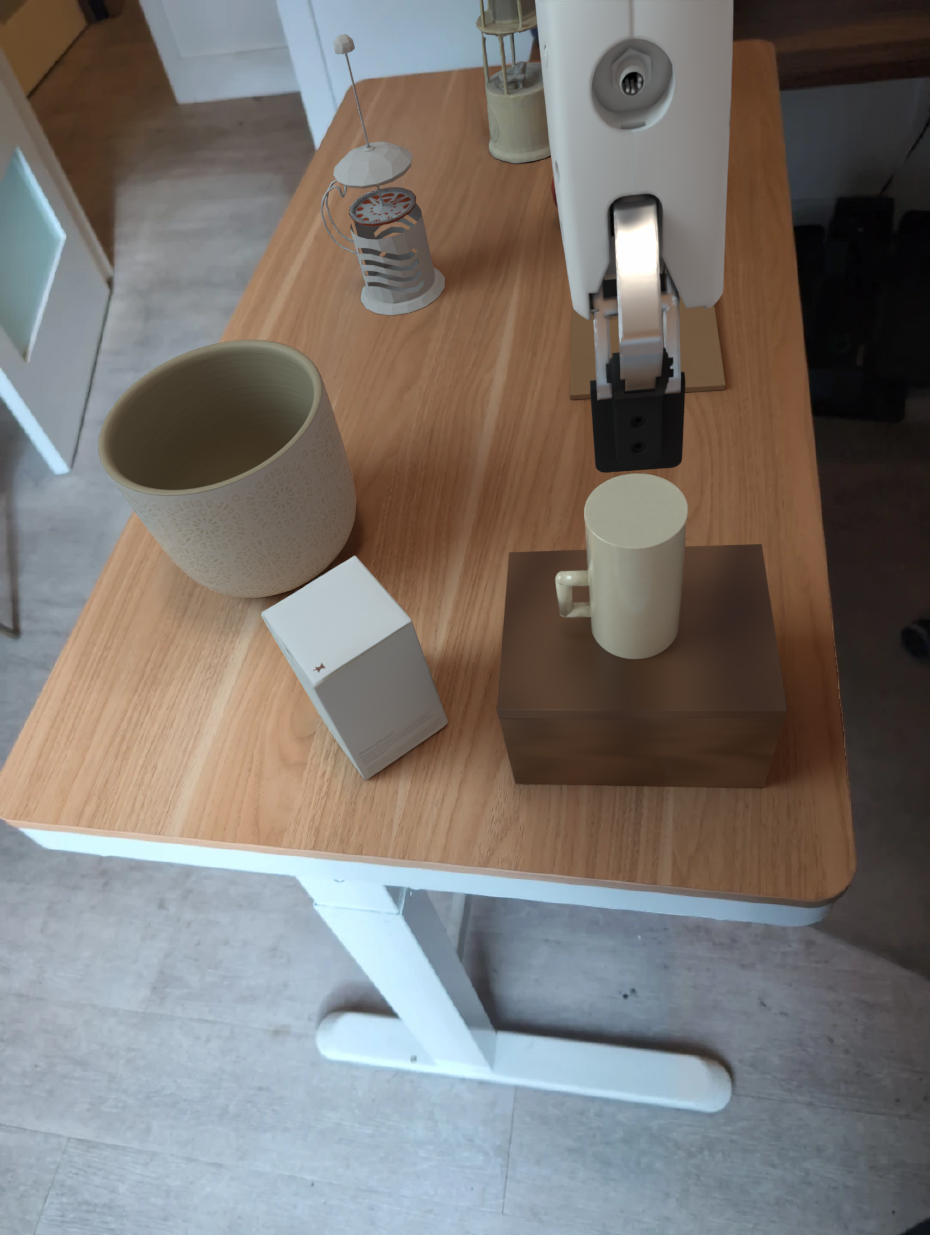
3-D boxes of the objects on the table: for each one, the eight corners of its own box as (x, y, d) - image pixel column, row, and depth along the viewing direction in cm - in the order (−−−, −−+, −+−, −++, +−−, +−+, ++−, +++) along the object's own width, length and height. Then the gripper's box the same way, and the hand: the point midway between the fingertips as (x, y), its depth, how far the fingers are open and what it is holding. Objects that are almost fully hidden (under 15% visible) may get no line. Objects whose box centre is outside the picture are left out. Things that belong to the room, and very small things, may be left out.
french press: (434, 314, 90) (379, 54, 70) (334, 316, 93) (254, 66, 73) (453, 262, 95) (407, 7, 75) (358, 266, 98) (289, 20, 78)
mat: (712, 299, 84) (713, 294, 83) (725, 390, 76) (725, 384, 75) (572, 311, 86) (572, 306, 86) (570, 400, 78) (569, 395, 78)
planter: (332, 639, 66) (266, 506, 54) (151, 611, 71) (52, 484, 59) (399, 485, 75) (355, 342, 63) (234, 470, 80) (164, 334, 68)
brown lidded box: (744, 634, 60) (761, 543, 52) (763, 788, 53) (787, 710, 45) (523, 637, 63) (508, 551, 55) (515, 783, 56) (496, 710, 48)
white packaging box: (452, 724, 60) (416, 621, 50) (364, 784, 58) (309, 690, 48) (399, 658, 64) (356, 551, 54) (316, 712, 62) (255, 611, 52)
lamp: (477, 163, 108) (435, -138, 85) (511, 115, 115) (480, -176, 91) (553, 164, 105) (531, -148, 81) (583, 115, 111) (571, -187, 88)
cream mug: (676, 588, 51) (685, 470, 43) (681, 659, 48) (691, 546, 40) (561, 591, 52) (549, 477, 45) (559, 660, 49) (546, 551, 42)
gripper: (846, -85, 15) (753, 533, 29) (737, -265, 25) (706, 256, 39) (448, -11, 17) (537, 546, 30) (495, -209, 27) (546, 275, 40)
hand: (632, 382), depth 35 cm, fingers open, 9 cm apart
